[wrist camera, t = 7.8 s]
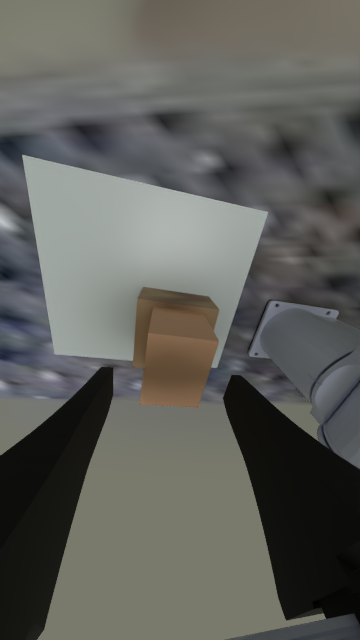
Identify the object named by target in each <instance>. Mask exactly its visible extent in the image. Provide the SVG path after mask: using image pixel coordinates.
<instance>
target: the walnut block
mask: <svg viewBox="0 0 360 640" xmlns="http://www.w3.org/2000/svg"><path fill="white" fill-rule="evenodd" d="M153 306H154V307H161V308H168V309H175V310H182V311H189V312H196V313H203V314H205V316H206V318H207V320H208V322H209V323H210V325H211V327H212V329H213V331H214V328H215V324H216V321H217V317H218V314H219V308H218V307H217V306H216V305H215V303H214V302H213V301H212V300H211V299H210V297H209V296H203V295H196V294H189V293H182V292H175V291H169V290H162V289H155V288H148V287H143V288H142V290H141V292H140V294H139V296H138V298H137V310H136V325H135V339H134V354H133V367H140V368H144V365H145V356H146V348H147V339H148V332H149V326H150V321H151V316H152V311H153Z"/></svg>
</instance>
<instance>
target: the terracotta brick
mask: <svg viewBox="0 0 360 640" xmlns="http://www.w3.org/2000/svg"><path fill="white" fill-rule="evenodd" d="M218 344H219V340H218V338H217V336H216V334H215V333H214V331H213V329H212V327H211V325H210V323H209V322H208V320H207V318H206V316H205V314H203V313H196V312H189V311H182V310H175V309H168V308H161V307H154V306H153V311H152V316H151V321H150V326H149V332H148V339H147V348H146V356H145V365H144V373H143V382H142V390H141V399H140V404H145V405H162V406H180V407H198V406H199V403H200V400H201V397H202V394H203V390H204V387H205V384H206V381H207V378H208V375H209V372H210V369H211V366H212V362H213V359H214V356H215V353H216V350H217V347H218Z"/></svg>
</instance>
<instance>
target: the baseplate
mask: <svg viewBox="0 0 360 640" xmlns="http://www.w3.org/2000/svg"><path fill="white" fill-rule="evenodd" d="M22 156H23V162H24V168H25V174H26V181H27V187H28V193H29V199H30V205H31V211H32V217H33V224H34V230H35V236H36V242H37V248H38V254H39V260H40V267H41V273H42V279H43V285H44V291H45V297H46V303H47V310H48V316H49V322H50V328H51V334H52V340H53V346H54V353H55V354H59V355H71V356H83V357H95V358H107V359H118V360H130V361H133V354H134V339H135V325H136V310H137V298H138V296H139V294H140V292H141V290H142V288H143V287H148V288H155V289H162V290H169V291H175V292H182V293H189V294H196V295H203V296H209V297H210V299H211V300H212V301H213V302H214V303H215V305H216V306H217V307H218V308H219V314H218V317H217V321H216V324H215V328H214V333H215V334H216V336H217V338H218V340H219V344H218V347H217V350H216V353H215V356H214V359H213V362H212V366H211V367H213V368H217V366H218V363H219V360H220V357H221V354H222V351H223V348H224V345H225V342H226V339H227V336H228V333H229V330H230V327H231V324H232V321H233V318H234V315H235V312H236V309H237V305H238V302H239V299H240V296H241V293H242V290H243V287H244V284H245V281H246V278H247V275H248V272H249V269H250V266H251V263H252V260H253V257H254V254H255V251H256V248H257V245H258V242H259V238H260V235H261V232H262V229H263V226H264V223H265V220H266V217H267V214H268V212H265V211H261V210H256V209H252V208H248V207H243V206H239V205H235V204H231V203H226V202H222V201H218V200H213V199H209V198H205V197H200V196H196V195H192V194H188V193H183V192H179V191H175V190H170V189H166V188H162V187H158V186H153V185H149V184H145V183H140V182H136V181H132V180H128V179H123V178H119V177H115V176H110V175H106V174H102V173H98V172H93V171H89V170H85V169H80V168H76V167H72V166H68V165H63V164H59V163H55V162H50V161H46V160H42V159H38V158H33V157H29V156H25V155H22Z"/></svg>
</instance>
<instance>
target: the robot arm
mask: <svg viewBox="0 0 360 640" xmlns="http://www.w3.org/2000/svg"><path fill="white" fill-rule="evenodd" d="M276 304H277V306H275V305H276ZM338 314H339V311H337V310H335V309H329V308H322V307H316V306H309V305H302V304H296V303H289V302H283V301H276V300H271V301H269V303H268V305H267V307H266V310H265V312H264V314H263V317H262V319H261V322H260V324H259V327H258V329H257V332H256V334H255V337H254V339H253V342H252V344H251V347H250V349H249V352H248V354H249V356H251V357H259V358H270V359H271V360H272V361H273V362H274V363H275V364H276V365H277V366H278V367H279V368H280V370H281V371H282V372H283V373H284V374H285V375H286V376H287V377H288V378H289V379H290V381H291V382H292V383H293V384H294V385H295V386H296V387H297V388H298V389H299V390H300V392H301V393H302V394H303V395H304V396H305V397H306V398H307V399H308V400H309V402H310V403H311V404H312V405H313V407H312V410H311V411H310V413H311V414H312V416H313V417H314V418H315V419H316V420H317V422H318V423H319V424H320V425H319V427H318V429H317V436H318V440H319V441H317V440H316V439H314V438H313V437H312V436H310V435H309V434H308V433H306V432H305V431H304V430H302V429H301V428H300V427H298V426H297V425H296V424H295V423H294V422H292V421H291V420H290V419H289V418H288V417H286V416H285V415H284V414H283V413H282V412H280V411H279V410H278V409H277V408H276V407H275V406H274V405H272V404H271V403H270V402H269V401H268V400H267V399H266V398H265V397H264V396H263V395H262V394H260V393H259V392H258V391H257V390H256V389H255V388H254V387H253V386H252V385H251V384H250V383H249V382H248V381H247V380H245V379H244V378H243V377H242V376H241V375H232V376H231V378H230V381H229V384H228V386H227V389H226V392H225V394H224V397H223V400H224V404H225V408H226V412H227V415H228V418H229V421H230V424H231V426H232V429H233V432H234V434H235V437H236V439H237V442H238V444H239V447H240V450H241V452H242V455H243V458H244V461H245V463H246V467H247V470H248V473H249V477H250V480H251V483H252V487H253V491H254V495H255V498H256V502H257V506H258V509H259V513H260V517H261V522H262V525H263V530H264V534H265V538H266V542H267V546H268V551H269V555H270V560H271V564H272V569H273V574H274V578H275V584H276V589H277V594H278V598H279V601H280V604H281V607H282V610H283V613H284V616H285V619H286V620H291V619H296V618H301V617H306V616H311V615H316V614H321V613H324V615H325V617H326V619H324V620H319V621H314V622H310V623H305V624H300V625H295V626H290V627H285V628H280V629H275V630H270V631H266V632H261V633H256V634H251V635H246V636H241V637H236V638H231V639H227V640H360V329H358V328H355V327H353V326H351V325H349V324H346V323H344V322H342V321H340V320H337V319H336V318H337V316H338ZM255 353H256V354H255ZM112 396H113V368H111V367H101V368H100V369H99V370H98V371H97V372H96V373H95V374H94V375H93V376H92V377H91V379H90V380H89V381H88V382H87V383H86V384H85V385H84V386H83V387H82V388H81V389H80V390H79V391H78V392H77V393H76V394H75V395H74V396H73V397H72V398H71V399H69V400H68V401H67V402H66V403H65V404H64V405H63V406H62V407H61V408H60V409H58V410H57V411H56V412H55V413H54V414H53V415H52V416H51V417H49V418H48V419H47V420H46V421H45V422H43V423H42V424H41V425H40V426H38V427H37V428H36V429H35V430H34V431H32V432H31V433H30V434H28V435H27V436H26V437H25V438H23V439H22V440H21V441H19V442H18V443H17V444H15V445H14V446H13V447H11V448H10V449H9V450H7V451H6V452H5V453H4V454H2V455H0V640H37V639H38V637H39V636H40V634H41V633H42V632H43V630H44V627H45V623H46V619H47V615H48V611H49V607H50V604H51V600H52V596H53V592H54V588H55V584H56V580H57V577H58V573H59V569H60V565H61V561H62V557H63V554H64V550H65V547H66V543H67V539H68V535H69V532H70V528H71V524H72V521H73V517H74V514H75V510H76V507H77V503H78V500H79V496H80V493H81V489H82V486H83V482H84V479H85V475H86V472H87V469H88V466H89V463H90V460H91V457H92V455H93V452H94V449H95V447H96V444H97V441H98V438H99V436H100V433H101V431H102V427H103V425H104V423H105V420H106V417H107V414H108V411H109V408H110V404H111V400H112Z"/></svg>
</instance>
